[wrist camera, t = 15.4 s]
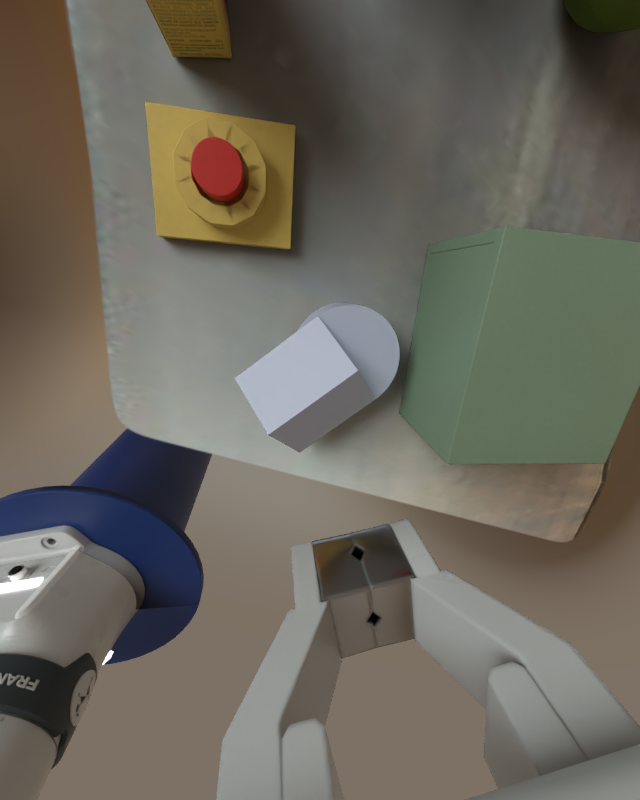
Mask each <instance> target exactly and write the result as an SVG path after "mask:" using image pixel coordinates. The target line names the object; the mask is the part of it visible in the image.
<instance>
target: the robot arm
mask: <svg viewBox="0 0 640 800" xmlns="http://www.w3.org/2000/svg"><path fill="white" fill-rule="evenodd" d="M291 557H292V570H293V583H294V596H295V609H293V610H289V611H288V613H287V615H286V617H285V619H284V621H283V623H282V625H281V627H280V629H279V631H278V633H277V635H276V637H275V639H274V641H273V643H272V645H271V646H270V648H269V650H268V652H267V654H266V656H265V658H264V660H263V662H262V664H261V666H260V668H259V670H258V672H257V674H256V676H255V678H254V680H253V682H252V684H251V686H250V687H249V689H248V692H247V693H246V695H245V697H244V699H243V701H242V703H241V705H240V707H239V709H238V711H237V713H236V715H235V717H234V719H233V721H232V723H231V725H230V727H229V729H228V730H227V732H226V735H225V736H224V738H223V740H222V750H221V758H220V767H219V776H218V786H217V794H216V800H344V797H343V793H342V790H341V786H340V782H339V778H338V774H337V771H336V767H335V764H334V760H333V756H332V752H331V748H330V745H329V741H328V737H327V734H326V730H325V724H326V720H327V716H328V713H329V709H330V705H331V701H332V697H333V693H334V689H335V686H336V681H337V677H338V674H339V670H340V666H341V662H342V661H341V659H342V658H345V657H348V656H351V655H355V654H358V653H361V652H365V651H368V650H371V649H374V648H378V647H382V646H386V645H390V644H395V643H398V642H403V641H407V640H411V639H415V641H416V642H417V643H418V644H419V645H420V646H421V647H422V648H423V649H424V650H425V651H426V652H427V653H428V654H429V655H430V656H431V657H432V658H433V659H434V660H435V661H437V662H438V664H439V665H441V666H442V667H443V668H444V669H445V670H446V671H447V672H448V673H449V674H450V675H451V676H452V677H453V678H454V679H455V680H456V681H457V682H458V683H459V684H460V685H461V686H462V687H463V688H464V689H465V690H466V691H467V692H469V694H470V695H471V696H473V698H475V699H476V700H477V701H478V702H479V703H480V704H481V705H482V706H483V707H484V708H485V709H486V726H485V743H484V758H485V761H486V763H487V765H488V767H489V769H490V772H491V774H492V776H493V778H494V781H495V783H496V785H497V787H498V790H494V791H491V792H488V793H485V794H482V795H479V796H476V797H473V798H470V799H467V800H640V726H639V725H638V723H637V722H636V721H635V720H634V719H633V717H632V716H631V715H630V714H629V713H628V711H627V710H626V709H625V708H624V707H623V705H622V704H621V703H620V702H619V701H618V699H617V698H616V697H615V696H614V695H613V694H612V692H611V691H610V690H609V689H608V688H607V686H606V685H605V684H604V683H603V682H602V680H601V679H600V678H599V677H598V676H597V674H596V673H595V672H594V671H593V670H592V668H591V667H590V666H589V665H588V664H587V663H586V662H585V660H584V659H583V658H582V657H581V656H580V654H579V653H578V652H577V651H576V650H575V648H574V647H573V646H572V645H571V644H570V642H568V641H566V640H564V639H562V638H561V637H559V636H558V635H556V634H554V633H552V632H551V631H549V630H548V629H546V628H544V627H543V626H541V625H539V624H538V623H536V622H534V621H532V620H531V619H529V618H527V617H526V616H524V615H522V614H521V613H519V612H517V611H516V610H514V609H512V608H511V607H509V606H507V605H506V604H504V603H502V602H501V601H499V600H497V599H495V598H494V597H492V596H490V595H489V594H487V593H485V592H484V591H482V590H480V589H478V588H477V587H475V586H474V585H471V584H470V583H469V582H467V581H465V580H463V579H462V578H460V577H458V576H457V575H455V574H453V573H451V572H450V571H448V570H446V571H441V570H440V569H439V567H438V565H437V564H436V562H435V561H434V559H433V557H432V556H431V554H430V552H429V551H428V549H427V547H426V546H425V544H424V542H423V541H422V539H421V537H420V536H419V534H418V532H417V531H416V529H415V528H414V526H413V524H412V522H411V521H410V520H408V519H403V520H399V521H395V522H391V523H388V524H384V525H380V526H376V527H372V528H368V529H364V530H360V531H356V532H352V533H349V534H344V535H339V536H335V537H330V538H325V539H320V540H316V541H312V542H309V543H304V544H299V545H294V546H292V549H291ZM144 596H145V586H144V582H143V579H142V577H141V575H140V573H139V572H138V570H137V569H136V568H135V567H134V566H133V565H132V564H131V563H130V562H129V561H128V560H127V559H125V558H124V557H123V556H121V555H119V554H118V553H116V552H114V551H112V550H110V549H107V548H105V547H102V546H100V545H97V544H95V543H93V542H92V541H90V540H89V539H88V538H87V537H86V536H85V535H83V534H82V533H81V532H80V531H78V530H77V529H75V528H74V527H71V526H66V525H63V526H57V527H51V528H45V529H40V530H34V531H29V532H23V533H17V534H12V535H6V536H1V537H0V800H37V799H38V797H39V794H40V792H41V790H42V788H43V786H44V783H45V781H46V779H47V777H48V774H49V772H50V770H51V769H52V768H54V767H55V765H57V764H58V762H59V761H60V760H61V758H62V756H63V753H64V752H65V750H66V748H67V745H68V743H69V741H70V739H71V737H72V735H73V733H74V731H75V729H76V726H77V724H78V723H79V721H80V719H81V717H82V715H83V713H84V711H85V709H86V706H87V704H88V701H89V699H90V696H91V693H92V691H93V688H94V685H95V682H96V679H97V673H98V672H99V670H100V668H101V666H102V665H103V664H104V663H105V662H107V661H108V660H109V659H110V658H111V656H112V654H113V651H110V650H111V649H112V647H113V645H114V644H115V642H116V640H117V639H118V637H119V636H120V634H121V632H122V631H123V630H124V628H125V627H126V625H127V624H128V622H129V621H130V620H131V618H132V617H133V616H134V615H135V613H136V612H137V611H138V610H139V608H140V607H141V605H142V603H143V600H144Z"/></svg>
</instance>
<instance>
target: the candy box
mask: <svg viewBox="0 0 640 800" xmlns="http://www.w3.org/2000/svg"><path fill="white" fill-rule="evenodd" d="M146 2H147V4H148V6H149V8H150V10H151V12H152V14H153V16H154V18H155V20H156V22H157V24H158V26H159V28H160V30H161V32H162V34H163V36H164V39H165V41H166V43H167V45H168V47H169V49H170V51H171V53H172V55H173V56H174V57H198V58H225V59H230V58H231V57H232V53H231V42H230V32H229V22H228V11H227V2H226V0H146Z"/></svg>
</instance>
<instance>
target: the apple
mask: <svg viewBox="0 0 640 800" xmlns="http://www.w3.org/2000/svg"><path fill="white" fill-rule="evenodd" d="M564 5H565V8H566V9H567V11H568V12H569V14H570V15H571V17H572V18H573V20H574V21H575V23H576V24H577V25H579V26H581V27H583V28H585V29H587V30H589V31H591V32H593V33H615V32H622V31H629V30H636V29H640V0H564Z"/></svg>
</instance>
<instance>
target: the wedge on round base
mask: <svg viewBox="0 0 640 800" xmlns="http://www.w3.org/2000/svg"><path fill="white" fill-rule="evenodd" d="M399 358H400V350H399V343H398V339H397V336H396V334H395V332H394V330H393V328H392V326H391V325H390V324H389V322H388V321H387V320H386V319H385V318H384V317H383V316H382V315H380V314H379V313H377V312H376V311H374V310H372V309H369V308H367V307H363V306H360V305H356V304H353V303H347V302H338V303H332V304H328V305H325V306H323V307H321V308H319V309H317V310H316V311H314V312H313V313H312V314H311V315H309V316H308V317H307V318H306V320H305V321H304V322H303V323H302V325H301V326H300V328H299V330H298V331H297V332H296V333H295V334H293V335H292V336H291V337H289V338H288V339H287V340H285V341H284V342H283V343H281V344H280V345H279V346H277V347H276V348H275V349H273V350H272V351H271V352H269V353H268V354H267V355H265V356H264V357H263V358H261V359H260V360H258V361H257V362H256V363H254V364H253V365H252V366H250V367H249V368H248V369H246V370H245V371H244V372H242V373H241V374H240V375H238V376H237V377H236V378H235V380H236V382H237V383H238V385H239V387H240V388H241V390H242V392H243V393H244V395H245V397H246V398H247V400H248V402H249V403H250V405H251V407H252V408H253V410H254V412H255V413H256V415H257V417H258V418H259V420H260V422H261V423H262V425H263V427H264V429H265V430H266V432H267V434H268V435H269V436H271V437H273V438H275V439H277V440H278V441H280V442H282V443H284V444H285V445H287V446H289V447H291V448H293V449H294V450H296V451H298V452H301V451H302V450H304V449H305V448H307V447H308V446H310V445H311V444H312V443H314V442H315V441H317V440H318V439H320V438H321V437H322V436H324V435H325V434H327V433H328V432H330V431H331V430H332V429H334V428H335V427H337V426H338V425H340V424H341V423H342V422H344V421H345V420H347V419H348V418H350V417H351V416H352V415H354V414H355V413H357V412H358V411H360V410H361V409H362V408H364V407H365V406H367V405H368V404H370V403H371V402H372V401H374V400H375V399H377V398H378V397H379V396H380V395H382V393H383V392H384V391H385V390H386V389H387V388H388V387H389V385H390V384H391V382H392V381H393V379H394V377H395V374H396V372H397V369H398V365H399Z"/></svg>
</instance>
